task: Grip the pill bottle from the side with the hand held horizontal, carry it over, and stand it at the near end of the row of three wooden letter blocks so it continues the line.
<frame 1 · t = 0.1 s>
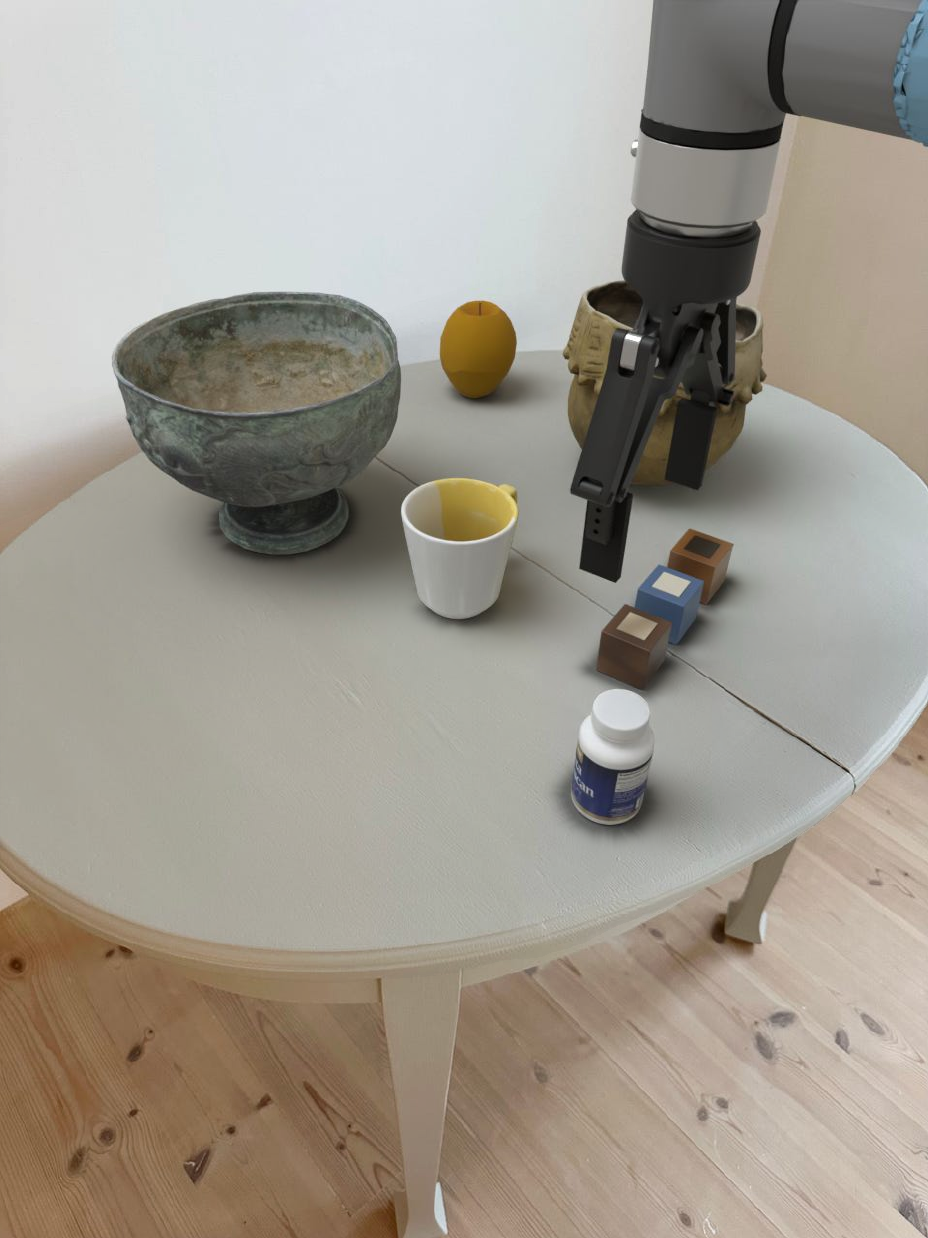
hand: (643, 525, 68), 18 cm above the table, tool pointing down, fingers open, 13 cm apart
apple: (477, 393, 123), on the table
mug: (471, 595, 91), on the table
decorative bowl: (282, 521, 100), on the table
clay pot: (644, 472, 109), on the table
walnut block: (630, 665, 84), on the table
oak end block: (693, 584, 93), on the table
pill bottle: (605, 800, 72), on the table
blue painted block: (663, 623, 88), on the table
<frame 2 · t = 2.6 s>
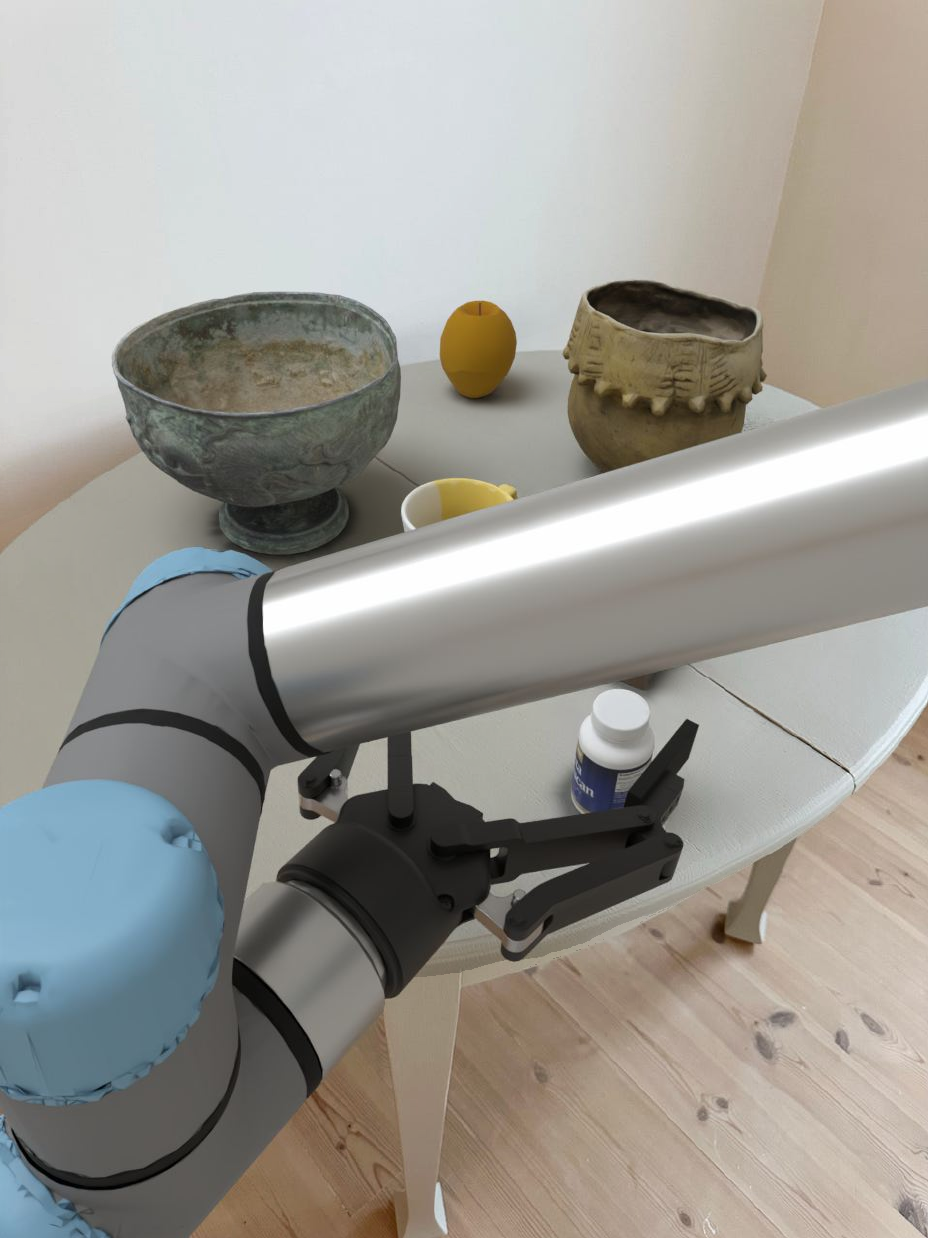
hand: (581, 682, 55), 19 cm above the table, tool horizontal, fingers open, 13 cm apart
nothing on the table moved.
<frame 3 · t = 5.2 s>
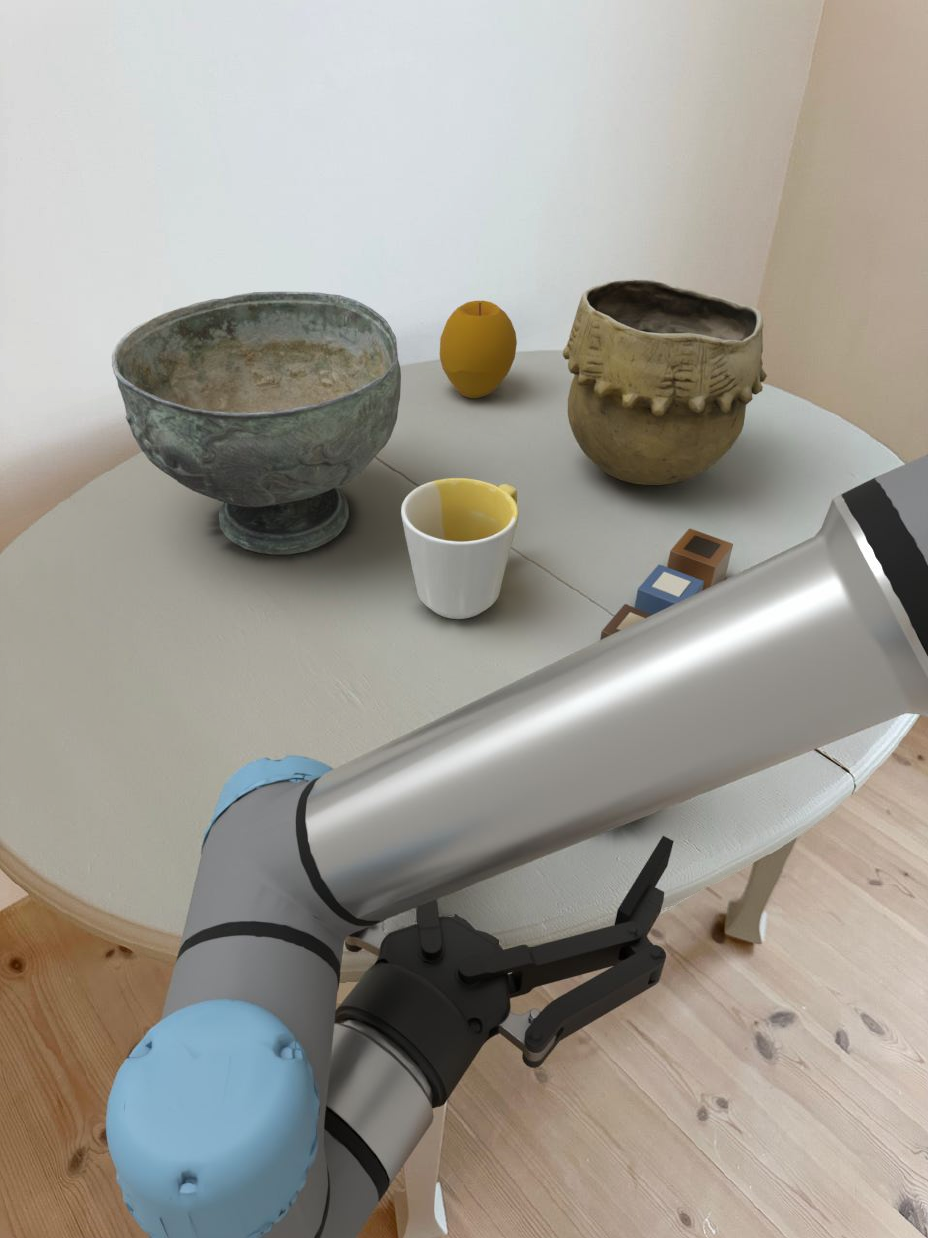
hand: (572, 803, 65), 6 cm above the table, tool horizontal, fingers open, 13 cm apart
nothing on the table moved.
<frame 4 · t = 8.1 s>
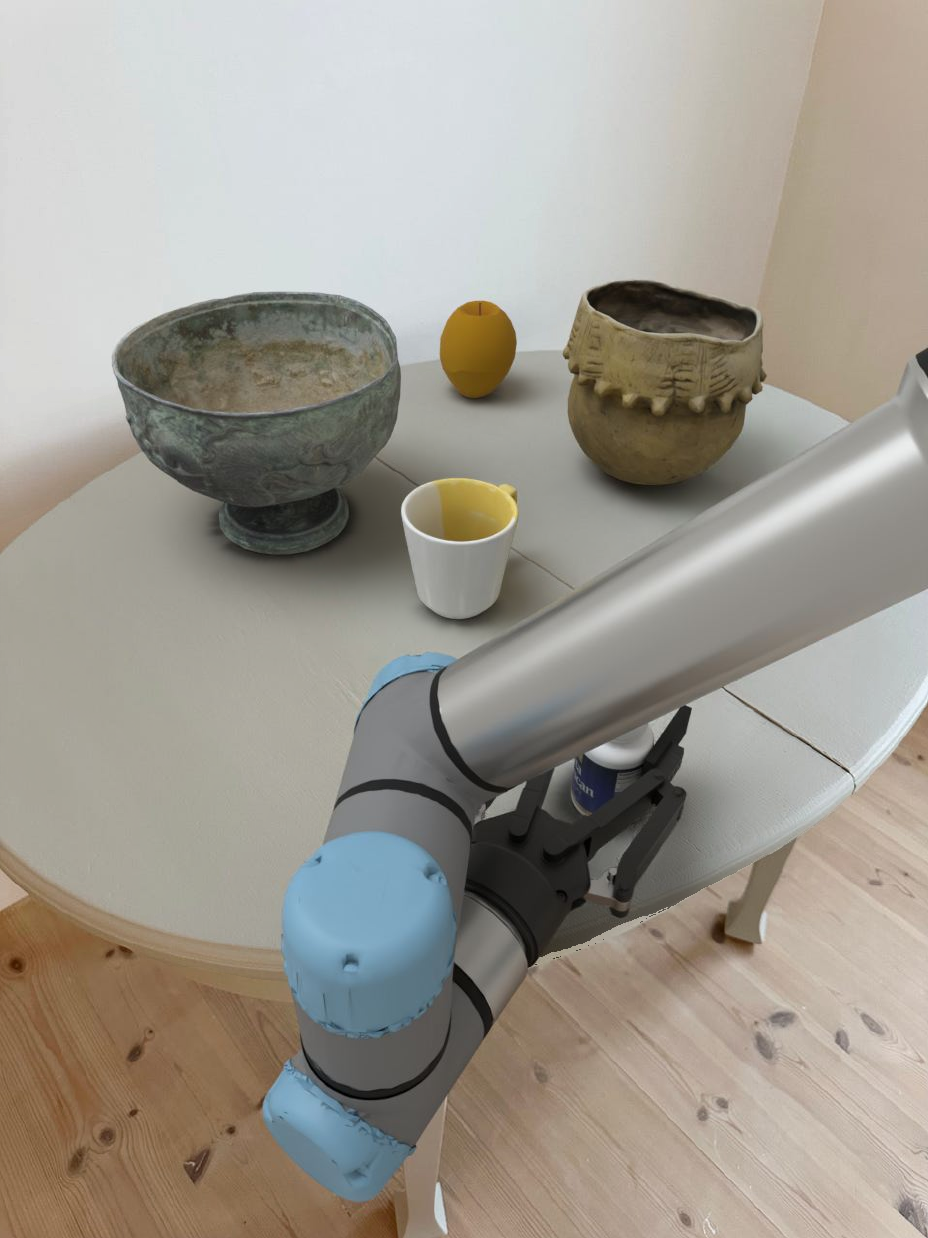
hand: (646, 702, 72), 6 cm above the table, tool horizontal, fingers closed on pill bottle, 5 cm apart
pill bottle: (605, 800, 72), on the table, touching gripper
everything else where it was.
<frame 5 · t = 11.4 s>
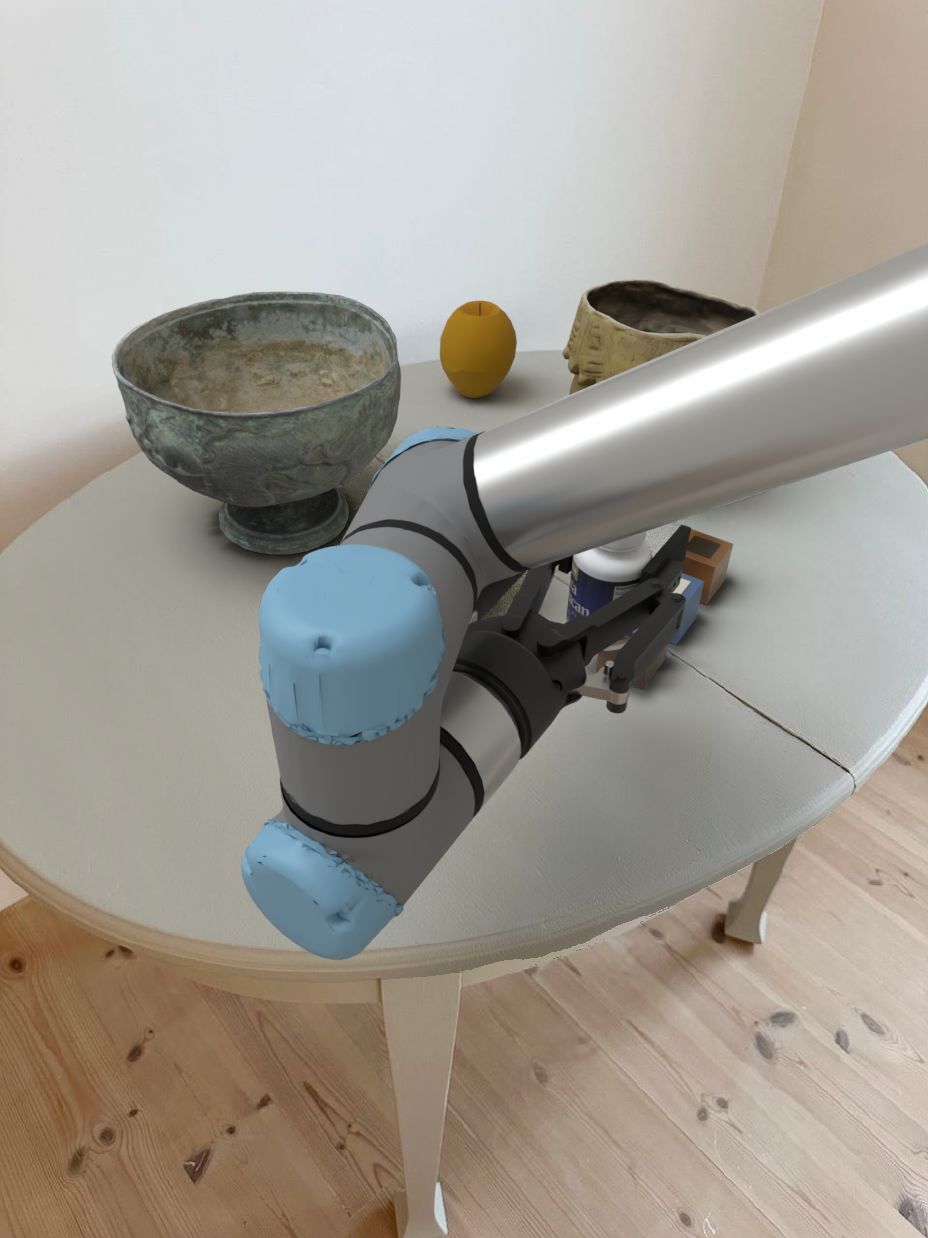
hand: (643, 527, 69), 17 cm above the table, tool horizontal, fingers closed on pill bottle, 5 cm apart
pill bottle: (601, 630, 70), point 11 cm above the table, touching gripper
everything else where it was.
when the fingers open (6 cm above the table, at t = 14.8 s): pill bottle stays where it is, on the table.
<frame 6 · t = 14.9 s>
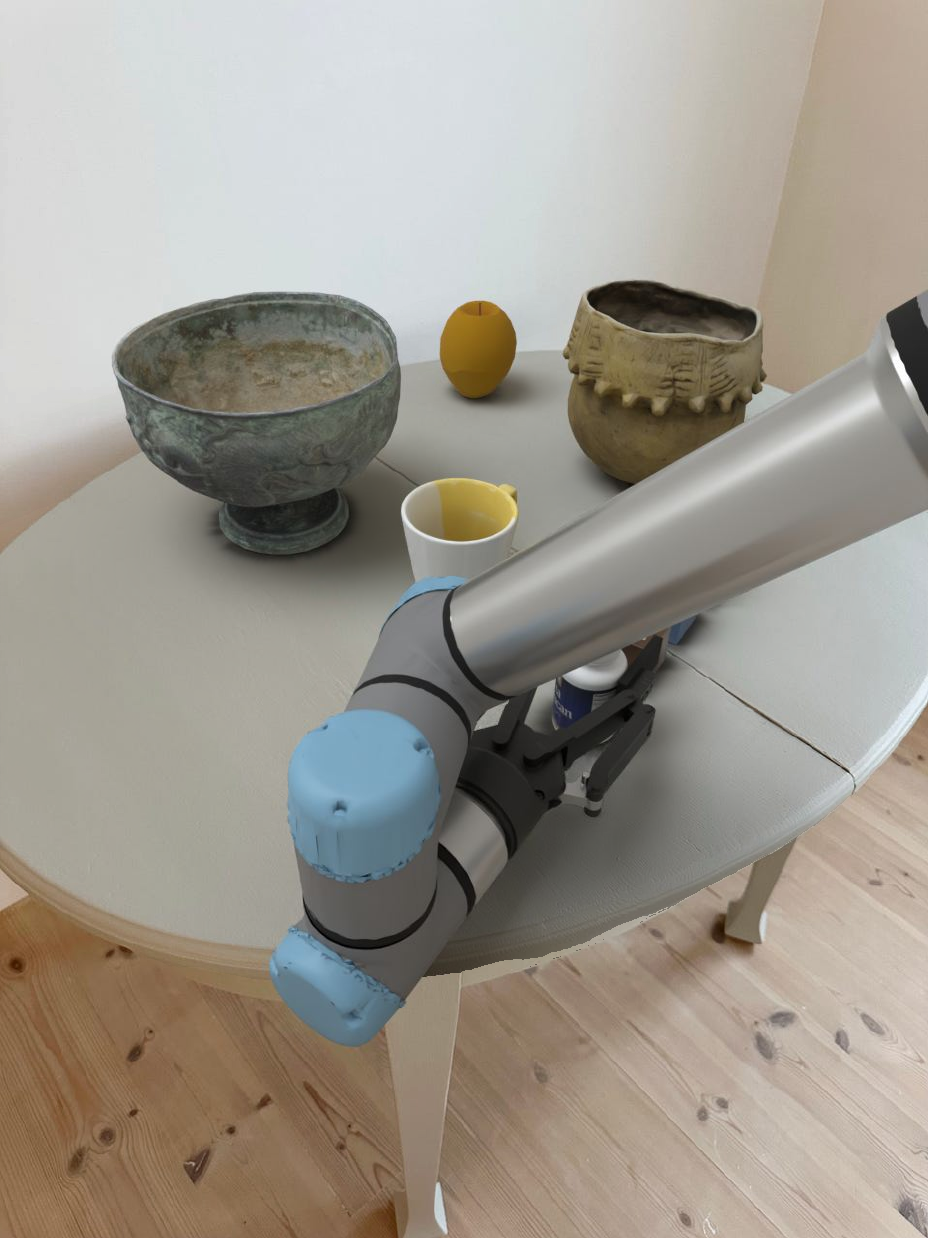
hand: (621, 634, 78), 6 cm above the table, tool horizontal, fingers open, 5 cm apart
pill bottle: (583, 725, 78), on the table
everything else where it was.
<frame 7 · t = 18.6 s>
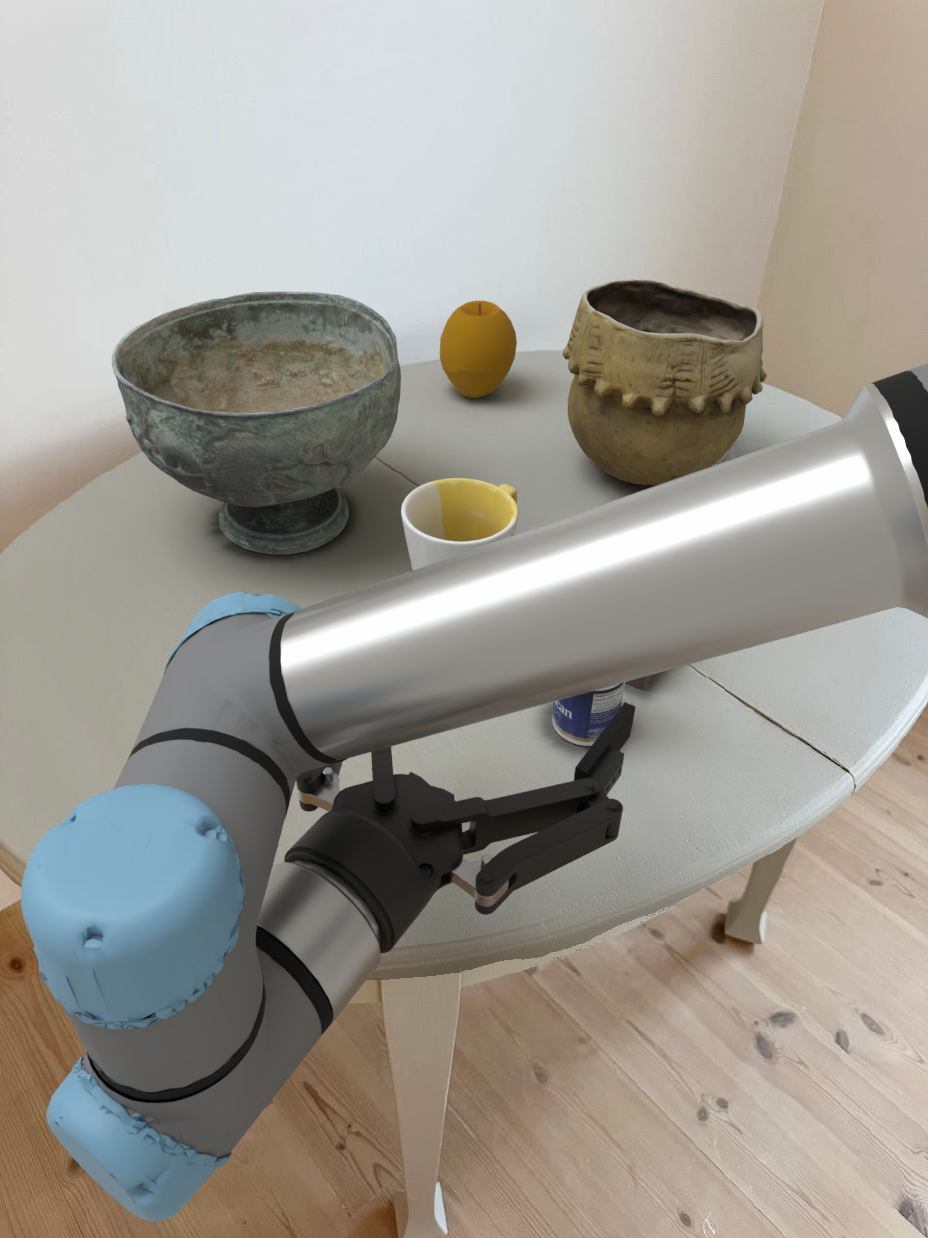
hand: (535, 677, 64), 13 cm above the table, tool horizontal, fingers open, 13 cm apart
nothing on the table moved.
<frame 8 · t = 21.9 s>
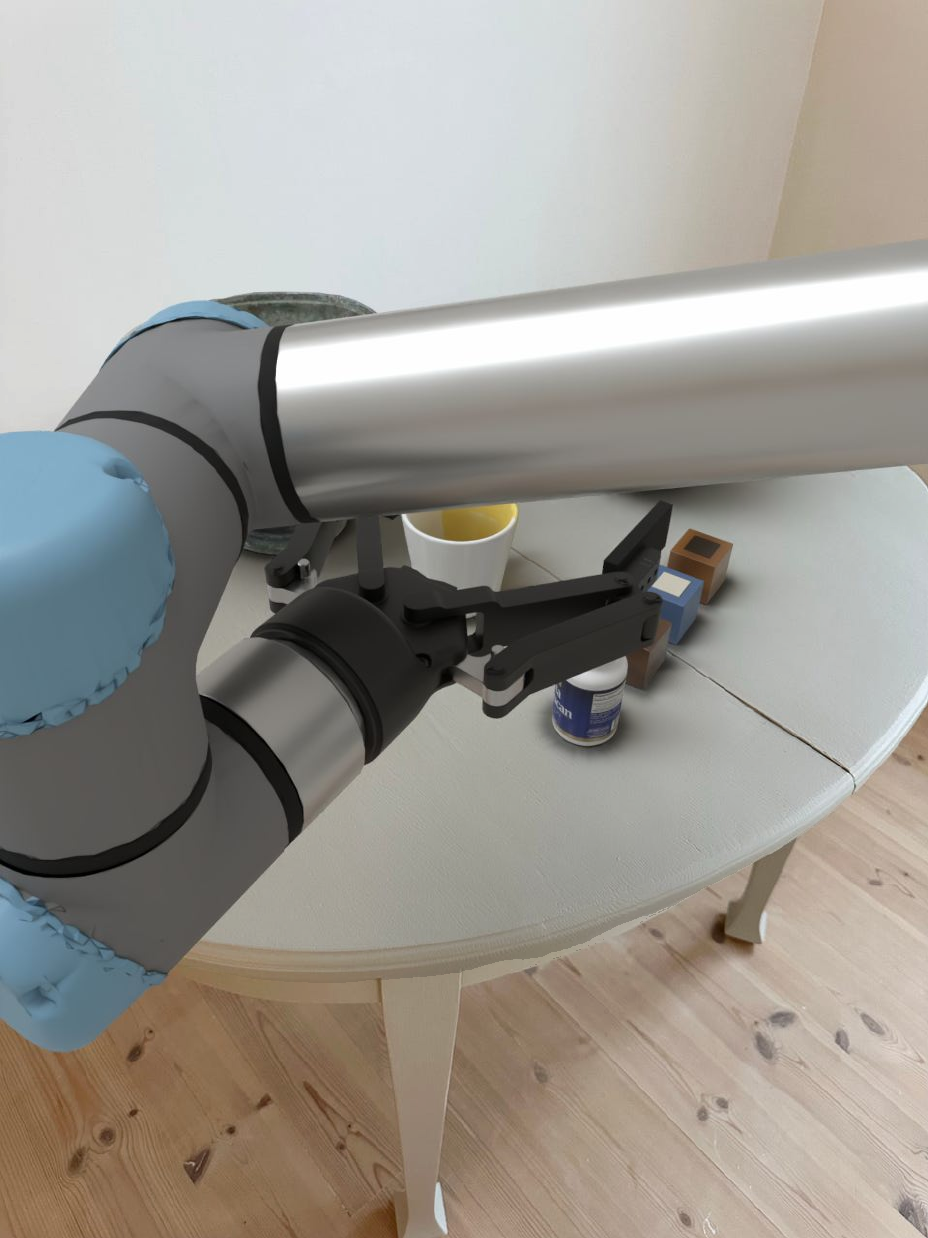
hand: (552, 483, 54), 28 cm above the table, tool horizontal, fingers open, 13 cm apart
nothing on the table moved.
at the end: pill bottle 0.0 cm from the target spot on the table beside the oak end block, on the table; pill bottle tilted 0°; walnut block moved 0.0 cm from its start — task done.
